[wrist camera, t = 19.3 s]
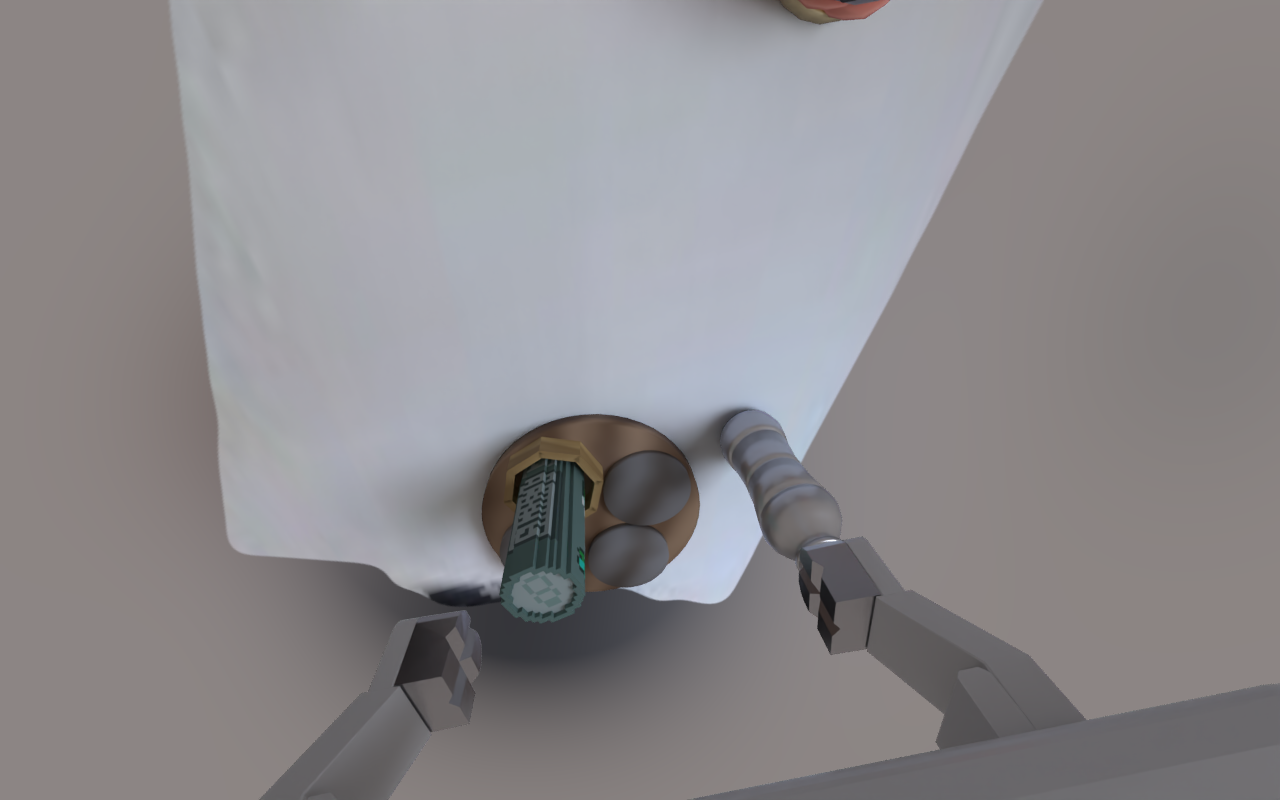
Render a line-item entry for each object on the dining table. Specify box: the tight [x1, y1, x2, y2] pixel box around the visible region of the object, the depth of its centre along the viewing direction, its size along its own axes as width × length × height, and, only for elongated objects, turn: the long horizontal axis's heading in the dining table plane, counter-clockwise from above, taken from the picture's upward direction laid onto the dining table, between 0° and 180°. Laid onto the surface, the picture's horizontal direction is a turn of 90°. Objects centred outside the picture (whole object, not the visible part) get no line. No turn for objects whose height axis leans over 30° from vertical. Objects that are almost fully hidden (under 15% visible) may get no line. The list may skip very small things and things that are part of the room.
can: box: [499, 458, 585, 623], centre depth 42 cm, size 6×6×15 cm
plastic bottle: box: [720, 410, 842, 571], centre depth 42 cm, size 6×7×20 cm
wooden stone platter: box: [482, 414, 700, 592], centre depth 51 cm, size 24×24×4 cm
